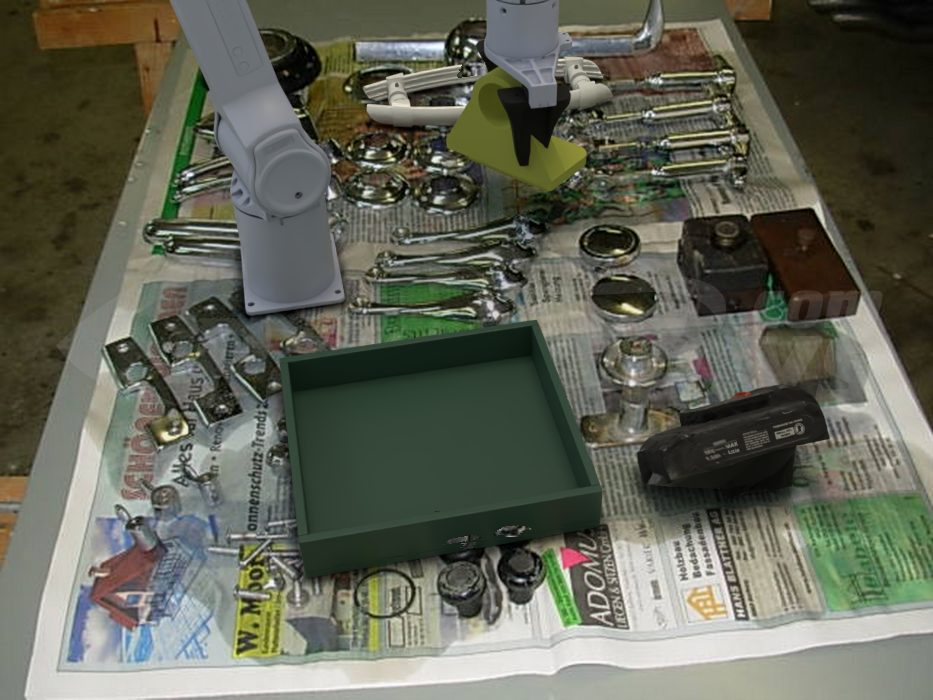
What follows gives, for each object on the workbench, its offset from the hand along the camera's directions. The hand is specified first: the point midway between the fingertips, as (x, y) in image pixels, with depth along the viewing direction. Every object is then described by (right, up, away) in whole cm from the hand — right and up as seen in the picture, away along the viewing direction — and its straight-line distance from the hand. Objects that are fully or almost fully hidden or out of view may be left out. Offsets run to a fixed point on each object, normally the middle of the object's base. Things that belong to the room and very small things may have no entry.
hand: (521, 141), depth 95 cm
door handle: (-2, +7, +19) cm, 20 cm away
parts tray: (-7, -25, -18) cm, 32 cm away
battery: (+13, -27, -19) cm, 35 cm away
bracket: (0, -2, +3) cm, 3 cm away
